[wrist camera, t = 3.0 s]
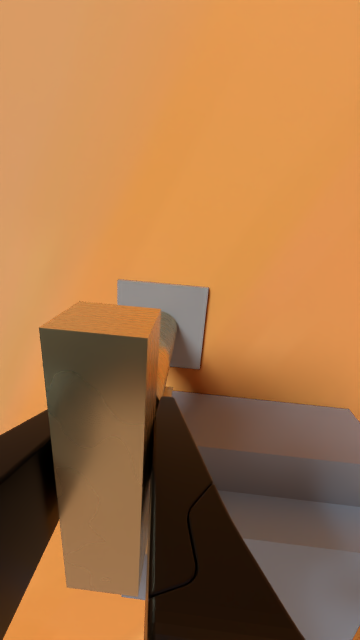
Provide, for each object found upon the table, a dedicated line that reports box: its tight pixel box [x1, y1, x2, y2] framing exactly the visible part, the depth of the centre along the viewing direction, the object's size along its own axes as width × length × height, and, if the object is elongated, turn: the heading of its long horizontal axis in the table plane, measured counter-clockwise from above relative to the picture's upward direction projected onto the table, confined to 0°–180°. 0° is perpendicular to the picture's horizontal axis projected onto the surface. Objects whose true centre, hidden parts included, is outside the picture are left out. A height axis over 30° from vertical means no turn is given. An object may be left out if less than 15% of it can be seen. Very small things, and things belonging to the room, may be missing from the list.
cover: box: [218, 490, 360, 640], centre depth 13 cm, size 9×9×2 cm
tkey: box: [39, 301, 177, 597], centre depth 11 cm, size 13×2×9 cm, turn 176°
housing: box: [118, 279, 360, 600], centre depth 15 cm, size 18×13×4 cm
